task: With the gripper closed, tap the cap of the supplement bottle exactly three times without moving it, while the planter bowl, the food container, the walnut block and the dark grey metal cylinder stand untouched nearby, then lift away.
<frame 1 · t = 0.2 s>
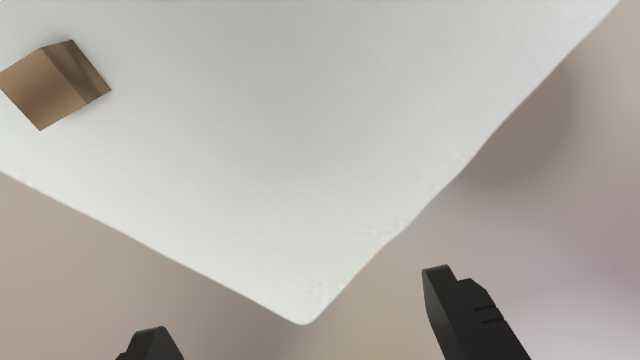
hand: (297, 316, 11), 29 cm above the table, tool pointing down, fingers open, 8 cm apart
walnut block: (71, 78, 35), on the table
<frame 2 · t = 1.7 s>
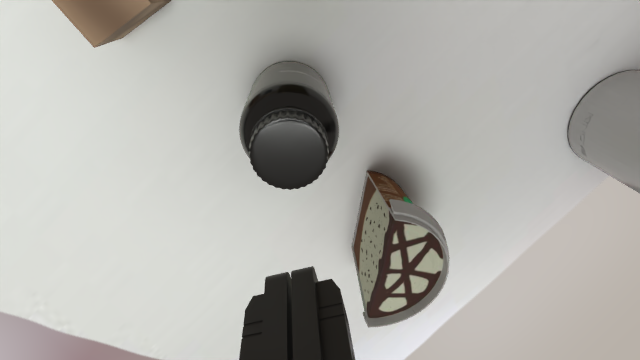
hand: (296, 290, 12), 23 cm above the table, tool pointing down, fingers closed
food container: (387, 211, 39), on the table
supplement bottle: (289, 99, 33), on the table
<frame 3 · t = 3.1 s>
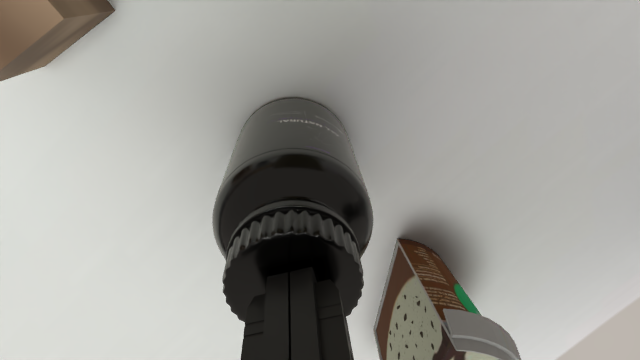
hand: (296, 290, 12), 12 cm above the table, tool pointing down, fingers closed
food container: (421, 286, 30), on the table
supplement bottle: (292, 148, 23), on the table, touching gripper
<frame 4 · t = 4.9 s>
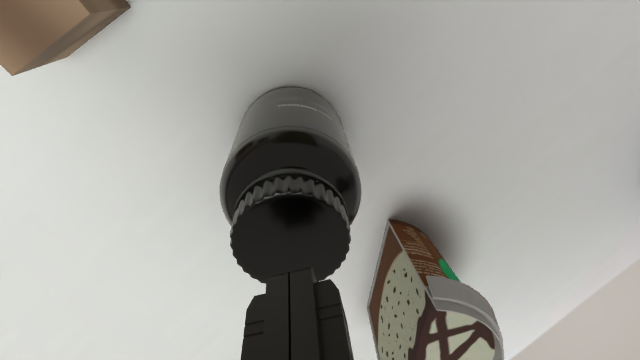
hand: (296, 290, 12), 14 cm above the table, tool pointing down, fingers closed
food container: (411, 265, 32), on the table
supplement bottle: (290, 133, 25), on the table
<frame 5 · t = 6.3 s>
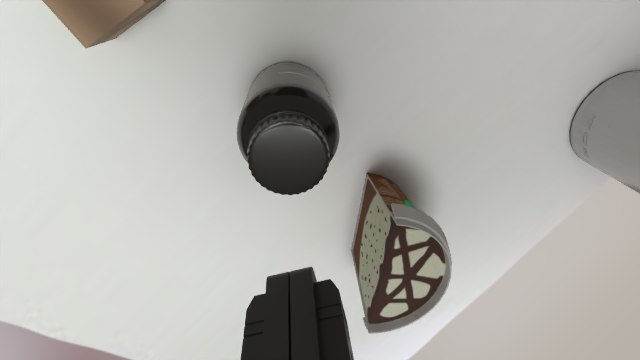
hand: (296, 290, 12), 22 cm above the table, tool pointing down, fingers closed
food container: (387, 214, 39), on the table
supplement bottle: (287, 100, 32), on the table
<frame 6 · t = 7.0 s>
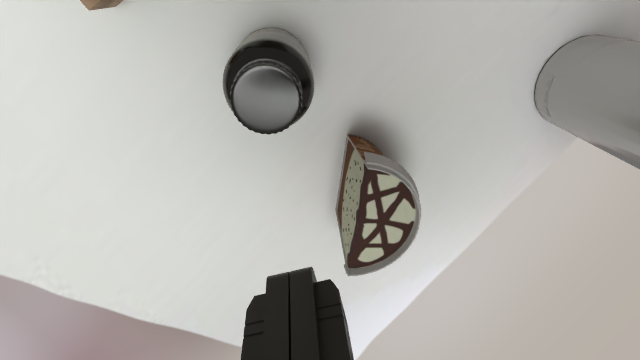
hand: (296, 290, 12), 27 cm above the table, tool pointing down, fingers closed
food container: (367, 174, 42), on the table
supplement bottle: (272, 65, 35), on the table
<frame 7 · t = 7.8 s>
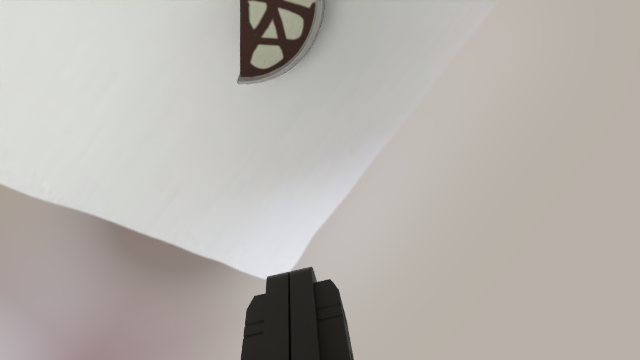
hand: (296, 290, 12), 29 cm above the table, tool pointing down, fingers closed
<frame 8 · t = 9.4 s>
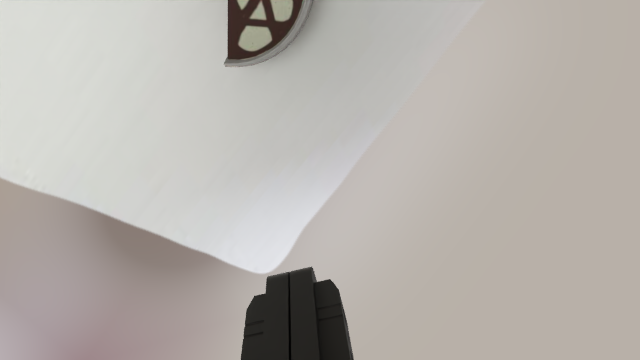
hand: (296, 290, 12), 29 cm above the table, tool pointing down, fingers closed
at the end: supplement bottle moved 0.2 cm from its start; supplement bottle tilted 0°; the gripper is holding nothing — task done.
